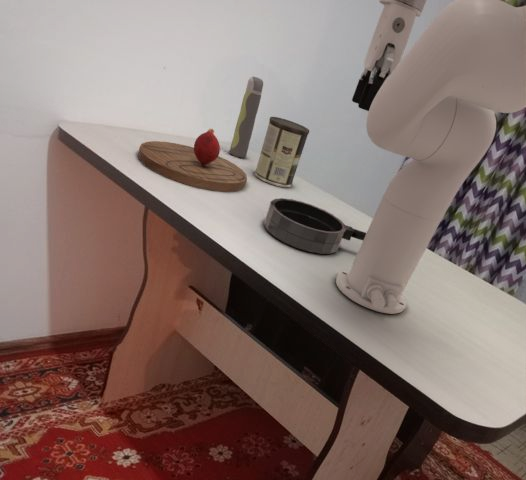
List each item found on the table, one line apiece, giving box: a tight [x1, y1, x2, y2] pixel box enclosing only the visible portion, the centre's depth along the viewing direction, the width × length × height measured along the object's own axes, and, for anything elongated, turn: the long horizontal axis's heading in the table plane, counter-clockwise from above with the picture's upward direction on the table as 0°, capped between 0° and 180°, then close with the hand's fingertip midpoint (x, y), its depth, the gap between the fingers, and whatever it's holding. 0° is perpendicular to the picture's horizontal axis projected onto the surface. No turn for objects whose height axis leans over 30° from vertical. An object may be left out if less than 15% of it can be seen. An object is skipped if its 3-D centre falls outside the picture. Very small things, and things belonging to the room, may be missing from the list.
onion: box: [193, 128, 221, 165], centre depth 103 cm, size 6×6×8 cm
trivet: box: [137, 140, 248, 193], centre depth 107 cm, size 25×25×2 cm
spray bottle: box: [229, 76, 264, 159], centre depth 126 cm, size 5×5×20 cm
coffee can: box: [254, 116, 310, 188], centre depth 117 cm, size 10×10×14 cm
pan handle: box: [342, 224, 367, 242], centre depth 92 cm, size 2×12×2 cm, turn 87°
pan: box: [263, 197, 347, 255], centre depth 91 cm, size 16×16×4 cm
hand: (362, 106), depth 88 cm, fingers open, 9 cm apart
